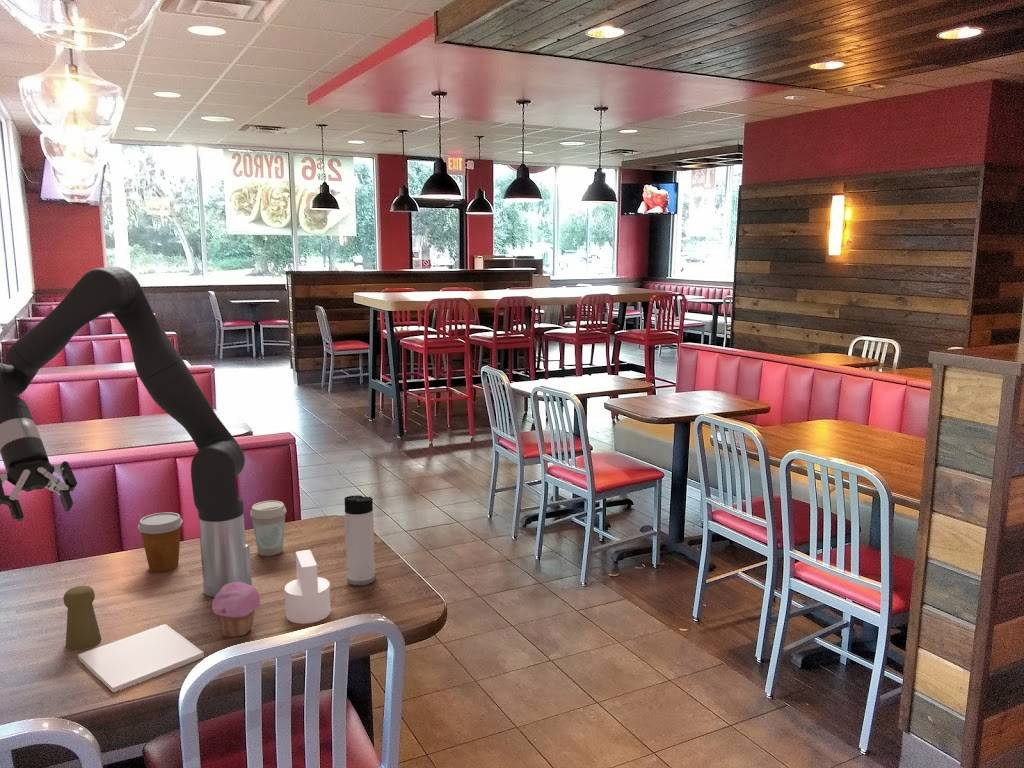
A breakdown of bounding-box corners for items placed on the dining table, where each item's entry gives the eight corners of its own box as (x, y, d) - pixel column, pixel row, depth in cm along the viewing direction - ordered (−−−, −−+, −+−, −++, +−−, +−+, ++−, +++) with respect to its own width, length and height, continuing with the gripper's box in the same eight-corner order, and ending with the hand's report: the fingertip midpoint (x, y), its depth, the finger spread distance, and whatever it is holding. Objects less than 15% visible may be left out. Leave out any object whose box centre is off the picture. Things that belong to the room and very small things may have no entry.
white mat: (165, 628, 154) (165, 623, 154) (203, 657, 144) (203, 652, 144) (78, 659, 143) (77, 654, 143) (113, 693, 132) (112, 687, 132)
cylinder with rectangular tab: (283, 607, 164) (280, 553, 161) (326, 600, 167) (324, 547, 165) (289, 626, 155) (286, 570, 153) (334, 618, 159) (332, 563, 157)
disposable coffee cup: (194, 564, 185) (190, 516, 183) (157, 578, 177) (153, 528, 175) (169, 555, 190) (166, 508, 188) (133, 569, 182) (128, 520, 180)
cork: (86, 652, 145) (80, 597, 143) (58, 648, 147) (52, 593, 145) (108, 636, 151) (103, 583, 149) (81, 633, 152) (76, 580, 150)
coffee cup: (247, 558, 189) (244, 511, 187) (258, 545, 197) (256, 499, 195) (282, 558, 189) (280, 511, 187) (292, 545, 197) (290, 499, 195)
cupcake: (227, 620, 158) (224, 574, 156) (268, 622, 157) (266, 576, 155) (206, 642, 149) (202, 593, 147) (249, 645, 148) (246, 596, 146)
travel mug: (340, 583, 175) (337, 498, 171) (357, 572, 181) (354, 490, 178) (364, 588, 173) (361, 502, 169) (380, 576, 179) (378, 493, 175)
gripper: (-16, 441, 151) (8, 513, 146) (63, 430, 162) (88, 497, 157) (-24, 461, 155) (0, 532, 151) (54, 449, 166) (78, 515, 161)
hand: (45, 514), depth 154 cm, fingers open, 8 cm apart
